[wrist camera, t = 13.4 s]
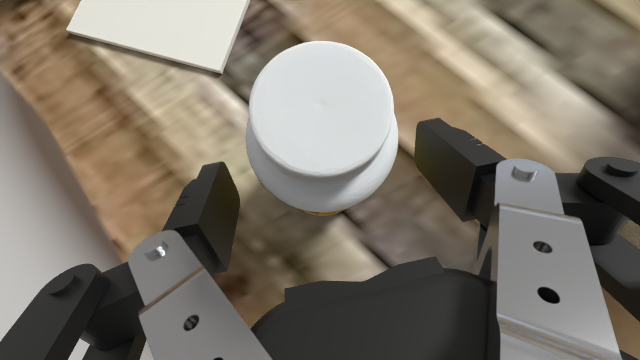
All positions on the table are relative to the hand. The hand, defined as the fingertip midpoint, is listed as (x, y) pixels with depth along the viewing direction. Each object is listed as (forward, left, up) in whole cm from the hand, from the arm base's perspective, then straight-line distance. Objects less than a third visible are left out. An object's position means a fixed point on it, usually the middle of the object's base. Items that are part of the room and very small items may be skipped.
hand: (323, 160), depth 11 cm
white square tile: (+15, -12, -6) cm, 20 cm away
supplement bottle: (0, -1, -6) cm, 6 cm away
